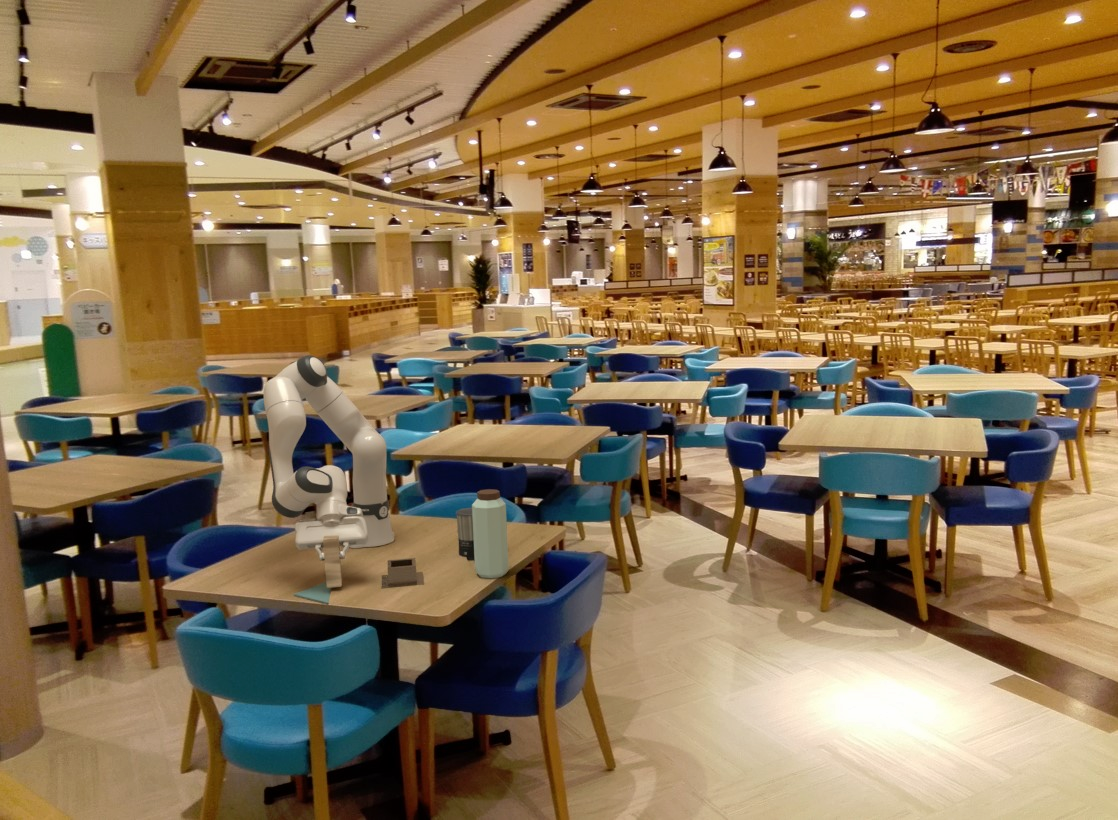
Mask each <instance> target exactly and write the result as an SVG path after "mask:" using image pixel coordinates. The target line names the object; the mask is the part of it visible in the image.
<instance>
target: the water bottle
mask: <svg viewBox="0 0 1118 820" xmlns="http://www.w3.org/2000/svg"><path fill="white" fill-rule="evenodd" d="M476 496H477V498H476V499H475V501H473V503H472V504H471V508H472V517H473V537H474V558H475V559H474V571H475V572H476V574H477V575H478V576H479V577H480V578H482V579H490V578H491V579H497V578H501V577H503V576H505V575H506V574H507V572H508V571H509V568H510V567H509V548H508V546H509V545H508V526H507V525H508V524H507V521H508V520H507V503H506V502H504V500H503V498H501V493H500V490H498V489H491V488H488V489H480V490H479V491H477V492H476Z"/></svg>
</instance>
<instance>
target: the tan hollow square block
mask: <svg viewBox="0 0 1118 820" xmlns="http://www.w3.org/2000/svg"><path fill="white" fill-rule="evenodd" d="M422 585H423V586H424V585H425V580H424V572H423V571H417V564H416V557H411V558H400V559H399V558H398V559H389V560H387V574H383V575H381V585H380V587H381V589H395V588H403V587H414V586H415V587H416V586H422Z"/></svg>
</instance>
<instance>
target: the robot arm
mask: <svg viewBox="0 0 1118 820" xmlns="http://www.w3.org/2000/svg"><path fill="white" fill-rule="evenodd" d="M327 371H328V370H327V367H326V366H325V364H324V363H323V362H322V361H321V359H320V358H318V357H316V356H314V355H311V354H308V355H304V356H302V357H300V358H298V359H297V360H295V361H294V362H292V363H291V364H289V365H288V366H286V367H284V368H283V369H282V370H281V371H280V372H278V373H277V375H275V376H274V377H273V378H270V379H269V380H268V381H267V382H266V383H265V384H264V386H263V403H264V404H263V405H264V410H265V414H266V415H265V416H266V418H267V426H268V454H269V455H268V456H269V462H270V469H271V470H270V471H271V476H272V486H273V489H272V494H271V504H272V507H273V509H275V511H276V512H277V513H278V514H279V515H281V516H282V517H285V518H289V519H291V518H292V519H295V518H298V517H300V516H301V515H302V514H303V513H304V512H305V510H306V509H307V508H308V507H309V506H310V505H311V504H315V506H316V517H310V518H301V519H300V520H297V522H296V523H295V524H294V531H295V532H296V534H295V540H294V542H295V547H296V548H297V549H298V550H300V551H302V550H315V551H316V553H317V554H318V557H319V561H320V562H325V558H324V552H322V549H324V545H323V538H324V536H328V535H339V547H343V549H342V550H340V551H339V554H340V555H339V557H340V560H345V559H346V554H347V552H348V551H349V549H359V548H372V547H373V548H374V547H378V546H380V547H381V546H385V545H387V544H390V543H391V544H392V543H393V542H394V540H395V532H394V531H393V527H392V521H391V515H390V513H389V510H390V502H389V499H388V495H387V493H388V492H387V491H388V490H387V443H386V440H385V438H384V437H383V436H382V435H381V434H380V433H379V432H378V431H377V430H376V429H375V428H374V427H373V425H372V424H371V423H370V421H368V419H366V417H365V416H364V415H363V413H362V412H361V411H360V410H359V408H358V407H357V406H356V405H355V404H354V402H352V400H351V399H350V398H349V397H348V395H346V394H345V392H344V391H343V390H342V388H340V386H338V384H337V383H336V382H334V380H333V379H331V377H329V376H328V372H327ZM304 399H305V400H306V402H307V403H308V405H310V407H311V408H312V410H313V411H314V412H315V413H316V414H317V415H318V416H319V417H320V419H322V421H323V422H324V423H325V424H326V425H327V426H328V428H329V429H330V430H331V431H332V432H333V434H335V436H336V437H337V438H338V439H339V440H340V441H341V442H342V444H343V445H344V446H346V448H347V449H348V450H349V452H350V453H351V454H352V490H353V491H352V492H353V502H350V503H348V502H347V498H348V484H347V483H348V482H347V477H346V475H345V472H344V471H343V470H342V468H341V467H338V466H336V465H333V464H332V465H331V464H330V465H329V464H328V465H323V466H322V467H319V468H318V467H317V468H315V467H313V466H301V467H300V468H298V469H297V470H296V471H295V472H294V468H293V453H294V451H295V448H296V446H297V444H298V442H299V441H300V439H301V436H302V435H303V433H304V431H305V429H306V427H307V415H306V414H307V413H306V410H305V408H304V403H303V400H304ZM347 503H348V504H347Z"/></svg>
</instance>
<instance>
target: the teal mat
mask: <svg viewBox="0 0 1118 820" xmlns="http://www.w3.org/2000/svg"><path fill="white" fill-rule="evenodd" d="M332 588H333V587H331V588H327V583H326V581H324V582H323V583H319V584H317V585H314V586H312V587H309V588H306V589H304V590H301V591H299V592H295V593H293V597H297V598H300V597H301V599H305V600H309V601H312V602H317V603H321V604H324V603H325V605H329V602H330V597H331V592H332Z"/></svg>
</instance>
